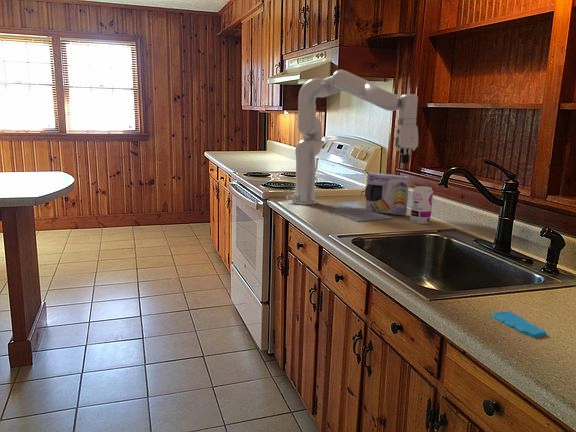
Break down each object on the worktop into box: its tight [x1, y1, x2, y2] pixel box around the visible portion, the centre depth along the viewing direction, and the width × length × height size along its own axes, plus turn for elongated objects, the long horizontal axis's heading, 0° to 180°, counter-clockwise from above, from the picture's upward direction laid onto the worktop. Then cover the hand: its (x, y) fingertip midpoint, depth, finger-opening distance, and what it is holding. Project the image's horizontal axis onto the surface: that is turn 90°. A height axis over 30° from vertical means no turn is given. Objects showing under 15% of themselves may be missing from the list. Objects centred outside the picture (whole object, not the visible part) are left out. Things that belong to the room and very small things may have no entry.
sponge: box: [490, 310, 547, 339], centre depth 109 cm, size 2×12×6 cm
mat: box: [330, 207, 394, 223], centre depth 216 cm, size 18×22×1 cm
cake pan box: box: [364, 172, 410, 216], centre depth 220 cm, size 19×5×18 cm, turn 62°
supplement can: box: [409, 185, 434, 225], centre depth 205 cm, size 8×8×15 cm
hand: (404, 163), depth 221 cm, fingers closed
